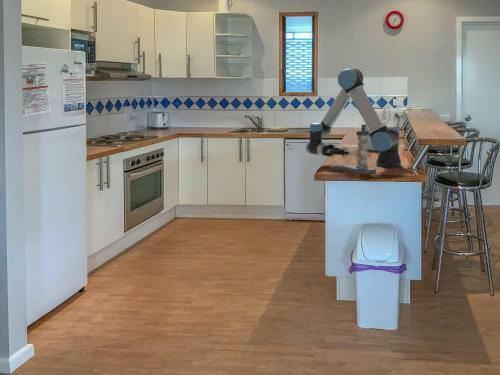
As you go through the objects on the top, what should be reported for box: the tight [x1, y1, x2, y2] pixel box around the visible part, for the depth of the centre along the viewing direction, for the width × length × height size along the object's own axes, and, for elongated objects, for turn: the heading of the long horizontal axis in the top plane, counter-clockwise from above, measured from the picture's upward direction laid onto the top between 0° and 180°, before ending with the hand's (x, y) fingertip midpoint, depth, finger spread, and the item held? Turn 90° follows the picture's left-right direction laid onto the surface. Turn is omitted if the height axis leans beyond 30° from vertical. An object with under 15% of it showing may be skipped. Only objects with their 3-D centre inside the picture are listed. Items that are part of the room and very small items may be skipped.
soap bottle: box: [366, 126, 377, 152], centre depth 518 cm, size 9×9×25 cm
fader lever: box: [355, 130, 369, 169], centre depth 412 cm, size 5×5×21 cm
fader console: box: [333, 164, 377, 175], centre depth 419 cm, size 26×9×2 cm, turn 36°
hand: (353, 153), depth 419 cm, fingers closed
